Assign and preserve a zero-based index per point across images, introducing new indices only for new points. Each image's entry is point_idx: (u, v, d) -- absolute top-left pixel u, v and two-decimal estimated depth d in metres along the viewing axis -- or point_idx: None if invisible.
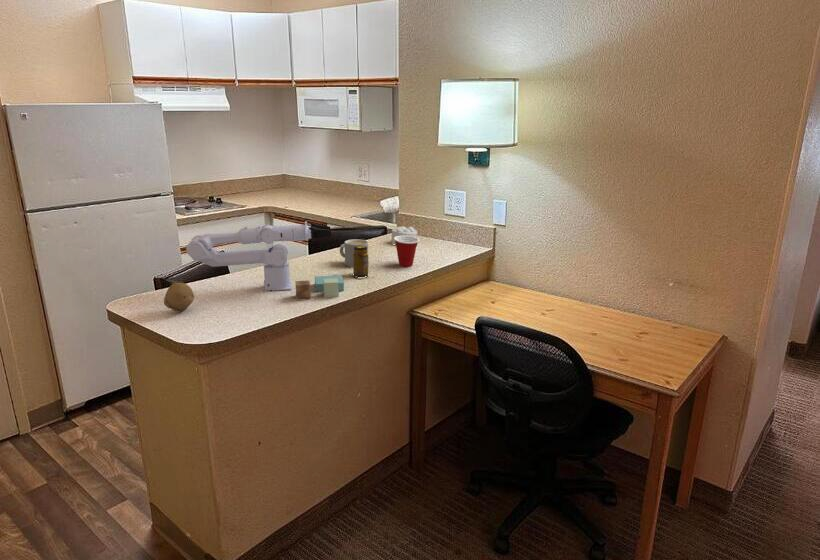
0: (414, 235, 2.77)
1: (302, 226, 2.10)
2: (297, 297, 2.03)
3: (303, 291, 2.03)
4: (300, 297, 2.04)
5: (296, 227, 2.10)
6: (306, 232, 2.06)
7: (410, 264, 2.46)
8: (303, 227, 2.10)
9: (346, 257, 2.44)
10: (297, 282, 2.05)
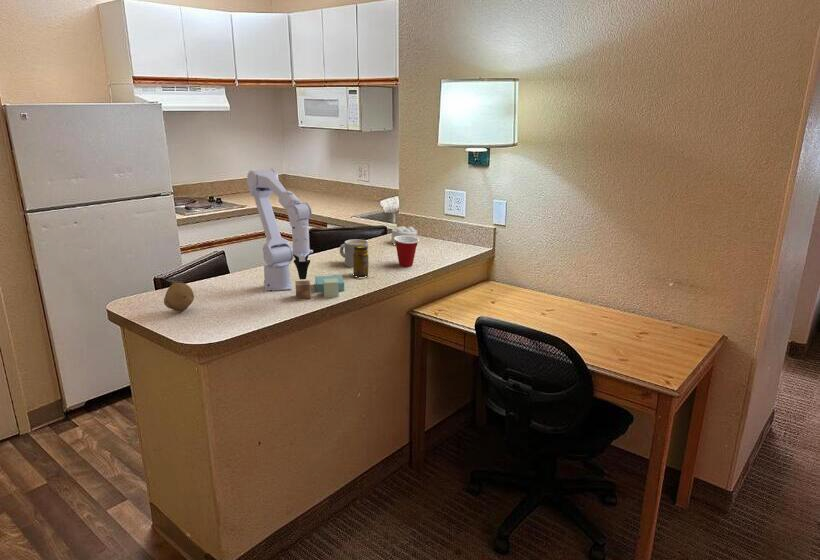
0: (414, 235, 2.77)
1: (308, 248, 2.00)
2: (297, 297, 2.03)
3: (303, 291, 2.03)
4: (300, 297, 2.04)
5: (307, 242, 1.99)
6: (305, 256, 1.96)
7: (410, 264, 2.46)
8: (307, 250, 2.00)
9: (346, 257, 2.44)
10: (297, 282, 2.05)
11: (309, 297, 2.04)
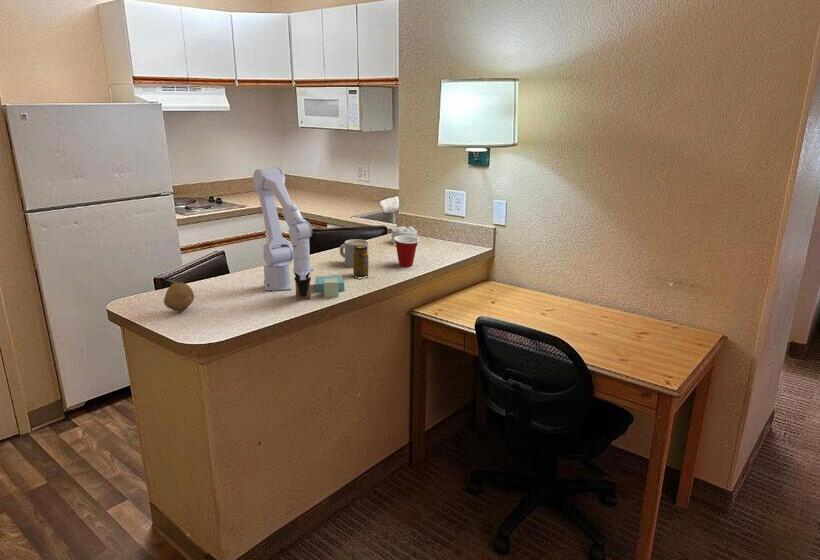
0: (414, 235, 2.77)
1: (309, 266, 2.02)
2: (297, 297, 2.03)
3: None
4: (300, 297, 2.03)
5: (308, 261, 2.01)
6: (305, 274, 1.98)
7: (410, 264, 2.46)
8: (308, 268, 2.02)
9: (346, 257, 2.44)
10: None
11: (309, 297, 2.04)
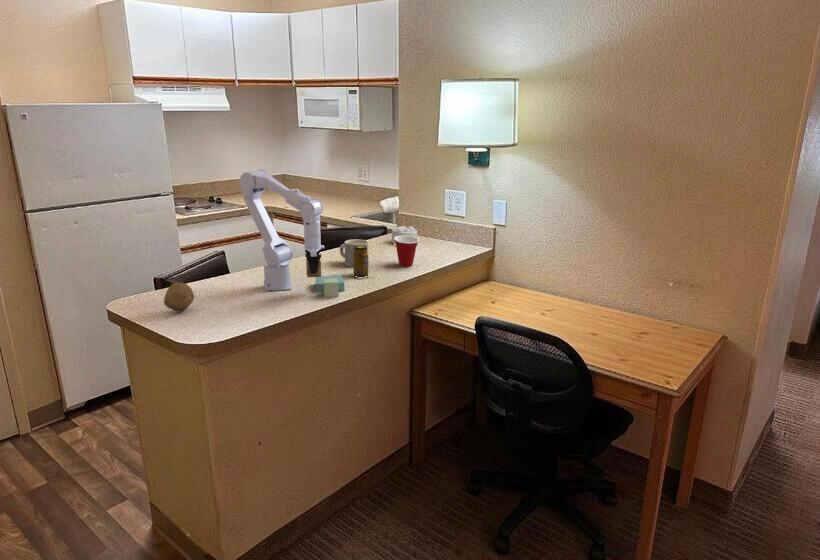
0: (414, 235, 2.78)
1: (319, 244, 2.05)
2: (308, 274, 2.06)
3: None
4: (311, 274, 2.06)
5: (319, 238, 2.04)
6: (316, 251, 2.00)
7: (410, 264, 2.46)
8: (319, 245, 2.04)
9: (346, 257, 2.44)
10: None
11: (320, 274, 2.07)
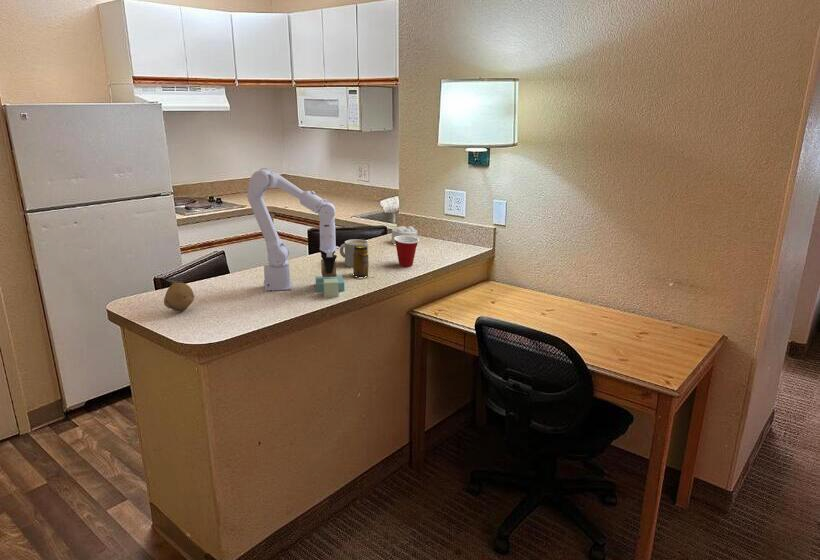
0: (414, 235, 2.78)
1: (335, 245, 2.12)
2: (323, 274, 2.13)
3: None
4: (326, 274, 2.13)
5: (334, 239, 2.11)
6: (332, 252, 2.08)
7: (410, 264, 2.46)
8: (334, 246, 2.12)
9: (346, 257, 2.44)
10: None
11: (335, 274, 2.14)
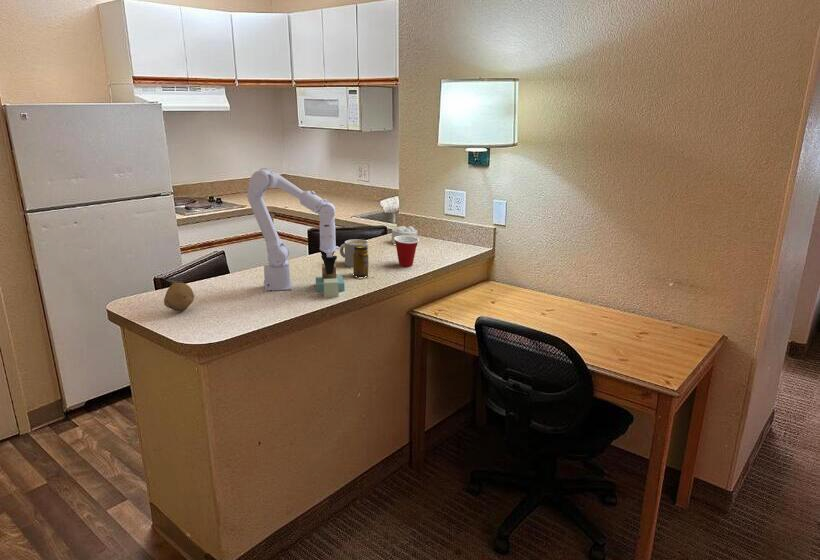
0: (414, 235, 2.78)
1: (335, 245, 2.12)
2: None
3: None
4: None
5: (334, 239, 2.11)
6: (332, 252, 2.08)
7: (410, 264, 2.46)
8: (334, 246, 2.12)
9: (346, 257, 2.44)
10: (324, 265, 2.16)
11: None
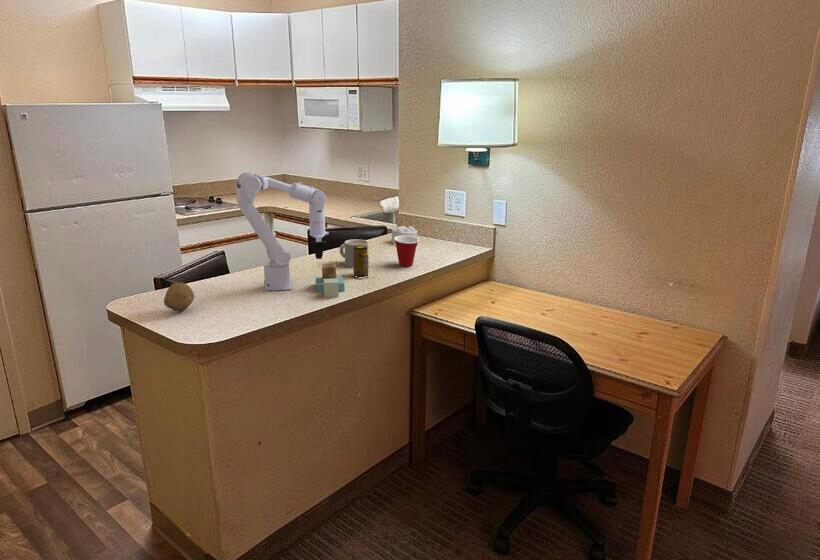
0: (414, 234, 2.78)
1: (324, 230, 2.17)
2: None
3: (329, 273, 2.14)
4: None
5: (323, 225, 2.16)
6: (321, 237, 2.12)
7: (410, 264, 2.46)
8: (323, 231, 2.17)
9: (346, 257, 2.44)
10: (324, 265, 2.16)
11: None
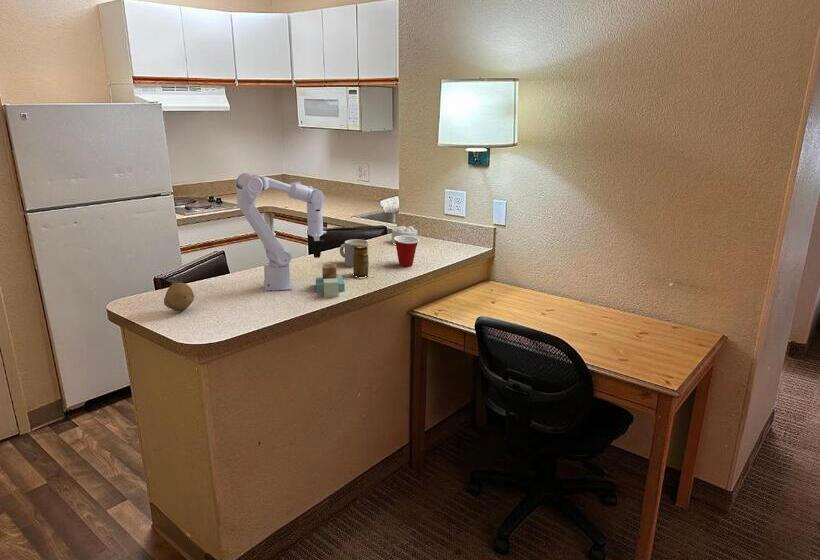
0: (414, 234, 2.78)
1: (322, 229, 2.18)
2: None
3: (329, 274, 2.13)
4: None
5: (321, 224, 2.17)
6: (319, 236, 2.14)
7: (410, 264, 2.46)
8: (321, 230, 2.18)
9: (346, 257, 2.44)
10: (324, 265, 2.15)
11: None
